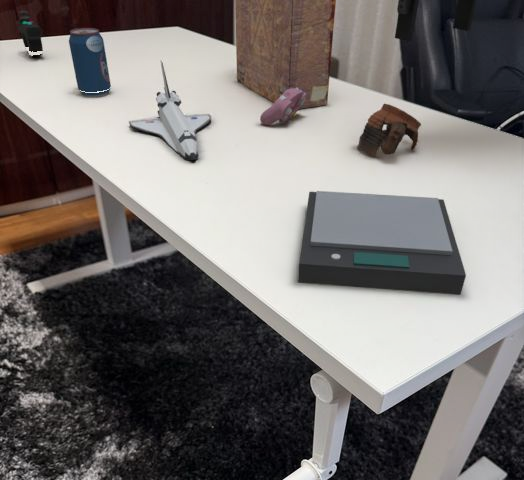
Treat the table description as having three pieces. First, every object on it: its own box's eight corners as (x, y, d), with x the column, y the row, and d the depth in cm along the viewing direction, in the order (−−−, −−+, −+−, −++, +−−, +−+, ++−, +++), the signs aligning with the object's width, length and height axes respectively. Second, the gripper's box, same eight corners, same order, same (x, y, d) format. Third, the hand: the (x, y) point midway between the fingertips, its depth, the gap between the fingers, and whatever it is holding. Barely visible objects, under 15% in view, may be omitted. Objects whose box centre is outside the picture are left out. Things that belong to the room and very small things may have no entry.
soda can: (115, 95, 117) (105, 32, 109) (83, 99, 114) (70, 35, 107) (107, 87, 121) (97, 26, 114) (76, 91, 119) (63, 28, 111)
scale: (439, 216, 74) (444, 194, 72) (460, 294, 60) (467, 270, 58) (308, 208, 76) (309, 187, 74) (297, 282, 61) (299, 258, 59)
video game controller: (275, 136, 102) (291, 104, 97) (256, 121, 102) (271, 88, 97) (298, 122, 109) (315, 91, 103) (281, 108, 109) (296, 76, 104)
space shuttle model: (146, 168, 86) (137, 101, 80) (126, 120, 104) (118, 62, 98) (239, 157, 90) (238, 93, 83) (204, 113, 108) (201, 57, 101)
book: (236, 81, 126) (232, -84, 107) (271, 76, 129) (274, -84, 110) (288, 111, 109) (295, -79, 90) (327, 105, 112) (342, -79, 93)
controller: (39, 51, 148) (29, 9, 142) (50, 61, 140) (40, 16, 134) (23, 53, 146) (12, 10, 140) (33, 63, 138) (22, 18, 132)
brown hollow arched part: (349, 144, 96) (373, 98, 93) (393, 169, 98) (418, 125, 95) (362, 150, 86) (390, 99, 82) (411, 178, 88) (441, 129, 85)
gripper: (501, -151, 77) (463, 21, 91) (379, -160, 65) (357, 39, 79) (549, -153, 72) (502, 29, 86) (428, -163, 61) (396, 48, 75)
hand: (433, 34), depth 83 cm, fingers open, 13 cm apart
